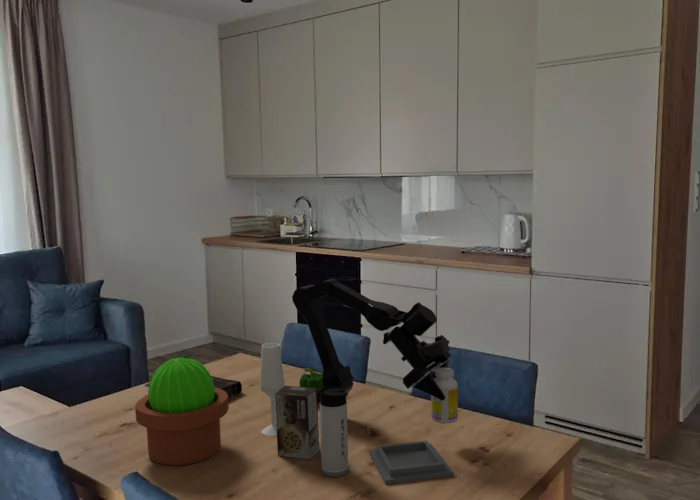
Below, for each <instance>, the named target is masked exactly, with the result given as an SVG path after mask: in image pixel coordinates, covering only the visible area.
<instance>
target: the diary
mask: <svg viewBox="0 0 700 500" xmlns="http://www.w3.org/2000/svg"><path fill="white" fill-rule="evenodd" d="M211 377H212V378H213V382H214V387H216V388H219V389H222V390H224V391H225V392H226V393H227V394H228V399H229V398H230V397H233V396H236V393H237V394H242V391H243V385H242V383H241V381H240V380H233V379H228V378H221V377H218V376H213V375H211ZM149 385H150V382H148V383H146V384H144V387H146V388H147V387H148V386H149ZM146 395H147V394H145V395H144V397H145V396H146Z"/></svg>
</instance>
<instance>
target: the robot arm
mask: <svg viewBox="0 0 700 500" xmlns="http://www.w3.org/2000/svg"><path fill="white" fill-rule="evenodd" d="M327 296H329V297H331V299H334V300H335V301H337V302H338V303H341V304H342V305H345V306H346V307H347V308H350V309H352V310H353V311H355V312H357V313H358V314H360V315H362V316H363V317H364V319H365V320H366V322H367V323H368V324H370V326H372V327H373V328H374V329H376V330H378V331H380V332H383V331H387V332H385V333H383V339H382V344H383V345H386V344H389V343H390V342H391V343H392V344H393V345H394V347H395V348H396V349H397V350H398V352H399V353H400V355H402V357H401V358H400V359H401V360H402V361H403V362H405V361H406V362H407V363H408V364H409V365H410V367H411V368H412V370H410V371H409V372H408V373H407V374H406V375H404V376H403V377H402V384H403V385H404V386H405V388H406V389H407V390H408V389H411V387H412V388H413V389H417V390H419V391H421V392H424V393H426V394H428V395H430V396H431V395H432V396H434V397H436V398H438V399H440V400H442V401H443V400H444V399H445V396H444V394H443V393H442V391H441V390H440V388H439V387H438V385H437V384H436V382H435V381H434V379H435V378H436V376H435V369H437V368H449V364H450V360H449V359H450V358H451V357H452V355H451V354H450V351H451V349H450V346H449V344H450V343H451V342H450V340H448V339H447V337H445V336H444V335H443V334H440V335H438V336H436V337H434V342H431V343H427V342H426V341H424V340H422V341H420V340H419V339H418V338H417V336H418V337H422V336H423V335H424V334H426V332H427V331H428V330H429V329H430V328H431V327H432V326H434V325H435V324H436V323H437V320H438V319H437V316H436V314H435V312H433V310H432V309H430V308H428V307H427V306H426V305H422V303H421V302H416V303H415V304H414V305H413V306H412V307H411V308H410V309H409V311H407V312H406V311H402V310H400V309H398V307H396V306H394V305H391V304H388V303H387V302H382V301H377V300H374V299H373V300H372V299H371V298H369V297H367V296H365V295H363V294H361V293H359V292H358V291H356V290H354V289H353V288H351V287H348V285H345V284H343V283H341V282H340V281H339V280H338V279H335V278H331V279H326V280H324V281H323V282H321V283H318V284H316V285H315V284H310V285H305V286H301V287H298V288H296V289H295V290H294V292H293V294H292V296H291V299H292V303H293V304H294V307H295V309H296V310H297V312H298V314H300V315H301V316H302V317H303V318H304V319H305V321H306V323H307V327H308V329H309V331H310V335H311V338H312V341H313V343H314V346H315V349H316V351H317V355H318V358H319V360H320V363H321V367H322V373H323V374H322V382H323V387H338V388H341V389H343V390H345V392H346V397H348V396H349V392H351V391H352V389H353V387H354V379H355V377H354V376H353V374H352V372H351V367H350V366H349V365H346V366H344V364H342V363H341V362H340V359H339V357H338V353H337V351H336V348H335V346H334V343H333V340H332V337H331V334H330V331H329V328H328V326H327V323H326V320H325V317H324V313H323V311H324V297H327ZM401 324H402V325H401ZM398 325H401V326H398ZM393 327H394V328H393ZM391 328H392V329H391ZM389 329H391V330H390V332H389V331H388V330H389ZM317 401H318V402H317V404H320V392H319V393H318V394H317Z"/></svg>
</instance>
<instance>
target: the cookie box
mask: <svg viewBox="0 0 700 500" xmlns="http://www.w3.org/2000/svg"><path fill="white" fill-rule="evenodd" d="M275 416H276V426H277V436H276V441H277V442H276V446H277V447H276V448H277V456H278V457H287V458H293V459H294V458H296V459H303V460H311V459H313V457H314V456H316V454H317V453H318V452H319V450H320V439H319V437H320V434H319V433H320V432H319V431H320V430H319V407H318V402H317V388H308V387H300V386H297V385H296V386H295V385H294V386H293V385H284V387H283V388H281V389H280V390H279V391H278V392H277V393H276V394H275Z"/></svg>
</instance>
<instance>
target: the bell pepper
mask: <svg viewBox="0 0 700 500" xmlns="http://www.w3.org/2000/svg"><path fill="white" fill-rule="evenodd" d="M303 371H304V372H305V373H302V375H301V377H300V379H299V387H308V388H317V394H318V388H323V382H322V374H323V372H322V373H319V372H316V371H314V370H313V369H312V368H310V367H309V368H304V370H303ZM306 372H309V373H310V374H309V373H306ZM317 403H318V401H317Z"/></svg>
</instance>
